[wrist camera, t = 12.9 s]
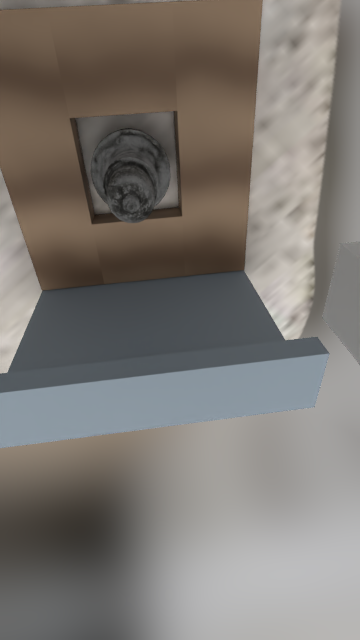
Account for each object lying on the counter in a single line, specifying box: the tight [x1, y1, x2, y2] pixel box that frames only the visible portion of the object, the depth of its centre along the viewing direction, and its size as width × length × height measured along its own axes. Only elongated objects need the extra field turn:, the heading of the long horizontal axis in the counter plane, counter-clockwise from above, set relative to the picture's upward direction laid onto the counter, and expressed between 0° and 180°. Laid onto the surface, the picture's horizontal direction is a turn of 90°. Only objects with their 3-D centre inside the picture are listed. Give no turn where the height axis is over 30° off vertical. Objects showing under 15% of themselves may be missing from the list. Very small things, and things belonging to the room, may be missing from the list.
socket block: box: [0, 0, 263, 291], centre depth 27 cm, size 19×19×2 cm
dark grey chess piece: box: [91, 129, 170, 223], centre depth 23 cm, size 6×6×12 cm
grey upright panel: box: [0, 270, 329, 448], centre depth 26 cm, size 4×20×18 cm, turn 93°
